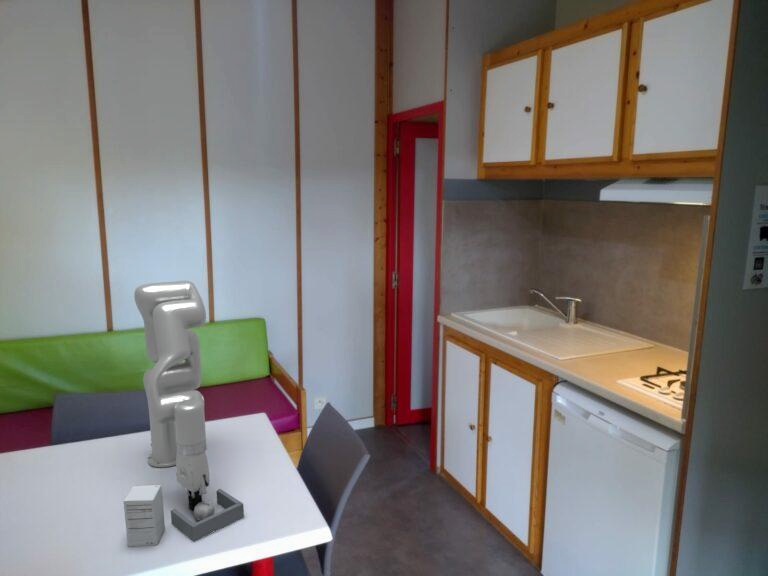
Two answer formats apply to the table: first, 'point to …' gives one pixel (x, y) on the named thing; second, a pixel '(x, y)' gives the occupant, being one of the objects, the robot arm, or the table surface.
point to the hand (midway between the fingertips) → (195, 508)
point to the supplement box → (144, 515)
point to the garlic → (204, 510)
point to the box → (212, 523)
